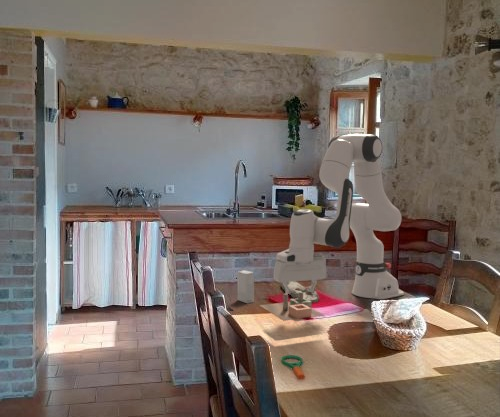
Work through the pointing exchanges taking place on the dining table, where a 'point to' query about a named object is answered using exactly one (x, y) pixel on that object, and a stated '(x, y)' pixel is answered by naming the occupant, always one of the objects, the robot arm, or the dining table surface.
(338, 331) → the dining table surface
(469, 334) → the dining table surface
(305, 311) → the chunky salmon square frame
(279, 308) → the wooden peg board
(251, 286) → the skincare box
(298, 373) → the magnifying glass
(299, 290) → the long grey stone
